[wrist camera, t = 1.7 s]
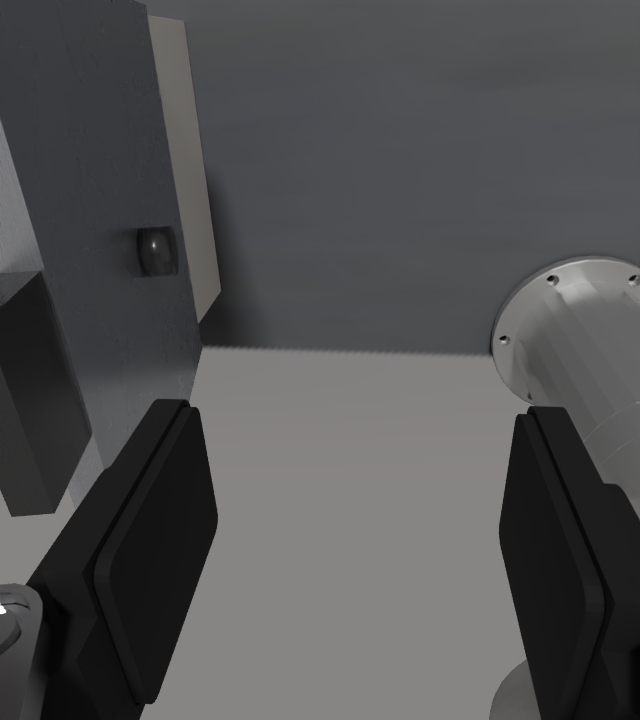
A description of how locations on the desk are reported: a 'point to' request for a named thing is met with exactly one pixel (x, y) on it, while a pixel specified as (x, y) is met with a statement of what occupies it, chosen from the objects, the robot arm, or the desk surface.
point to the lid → (84, 247)
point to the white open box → (186, 157)
